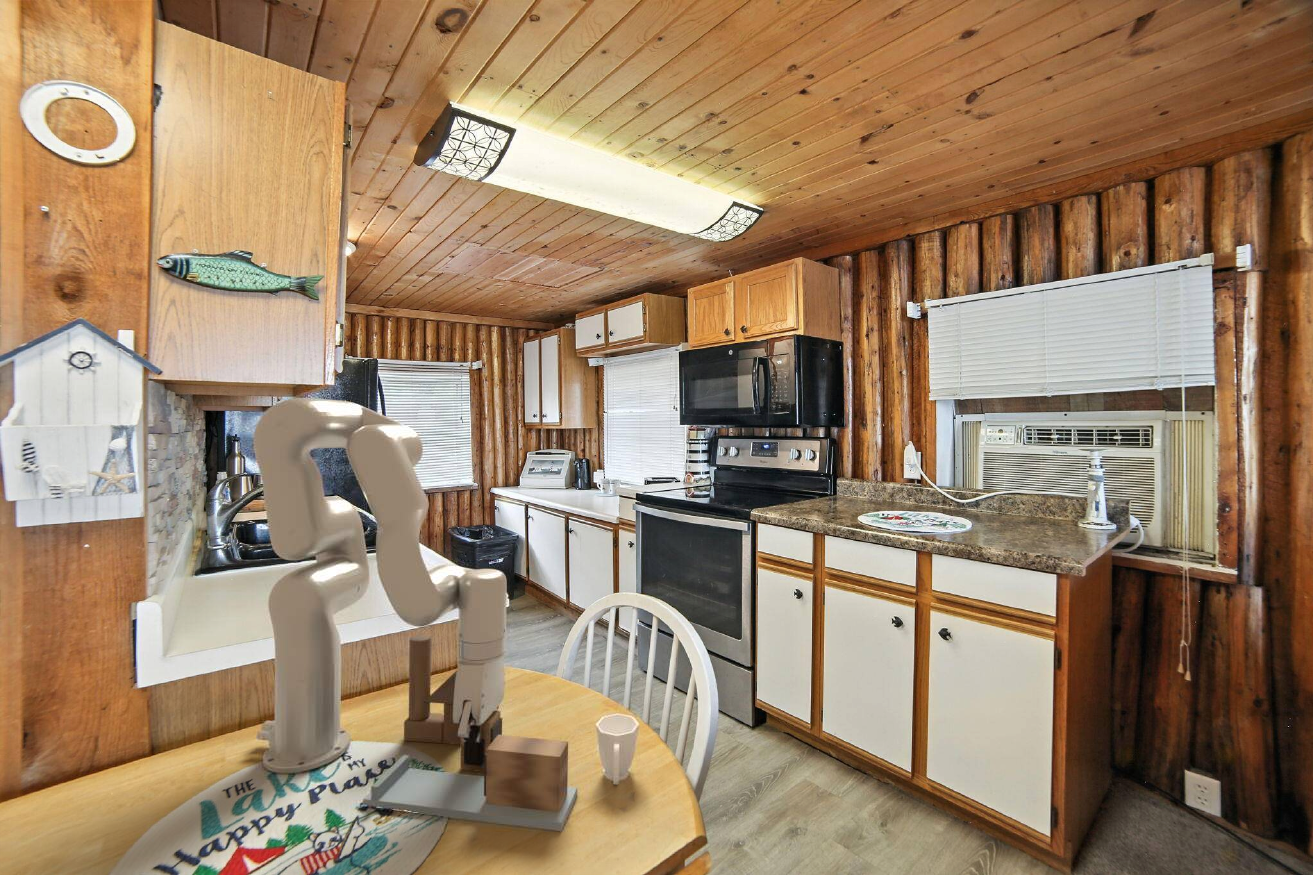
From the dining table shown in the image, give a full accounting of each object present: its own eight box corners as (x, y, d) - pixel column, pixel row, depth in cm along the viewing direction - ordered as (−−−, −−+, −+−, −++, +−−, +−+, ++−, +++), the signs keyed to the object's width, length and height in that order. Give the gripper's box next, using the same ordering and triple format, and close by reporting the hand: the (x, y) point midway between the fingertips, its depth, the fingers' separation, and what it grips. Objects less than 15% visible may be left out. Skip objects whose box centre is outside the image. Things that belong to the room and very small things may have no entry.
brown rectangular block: (460, 769, 93) (461, 720, 92) (471, 755, 96) (472, 708, 96) (491, 772, 92) (492, 723, 92) (502, 758, 96) (502, 711, 96)
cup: (637, 760, 96) (638, 712, 96) (638, 798, 86) (639, 745, 86) (596, 760, 96) (597, 712, 96) (592, 799, 86) (593, 746, 86)
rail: (363, 806, 83) (363, 785, 83) (395, 774, 91) (395, 754, 91) (561, 831, 79) (561, 808, 79) (577, 794, 87) (577, 773, 87)
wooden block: (462, 745, 99) (463, 643, 99) (403, 741, 100) (404, 640, 100) (470, 734, 103) (472, 635, 103) (413, 730, 104) (414, 633, 104)
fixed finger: (483, 803, 82) (484, 748, 82) (494, 786, 86) (495, 734, 86) (558, 812, 81) (559, 756, 81) (567, 794, 85) (568, 741, 85)
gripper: (483, 627, 103) (481, 727, 103) (434, 665, 86) (432, 784, 86) (522, 630, 102) (521, 731, 102) (481, 669, 85) (479, 789, 85)
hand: (480, 754), depth 94 cm, fingers closed on brown rectangular block, 4 cm apart
